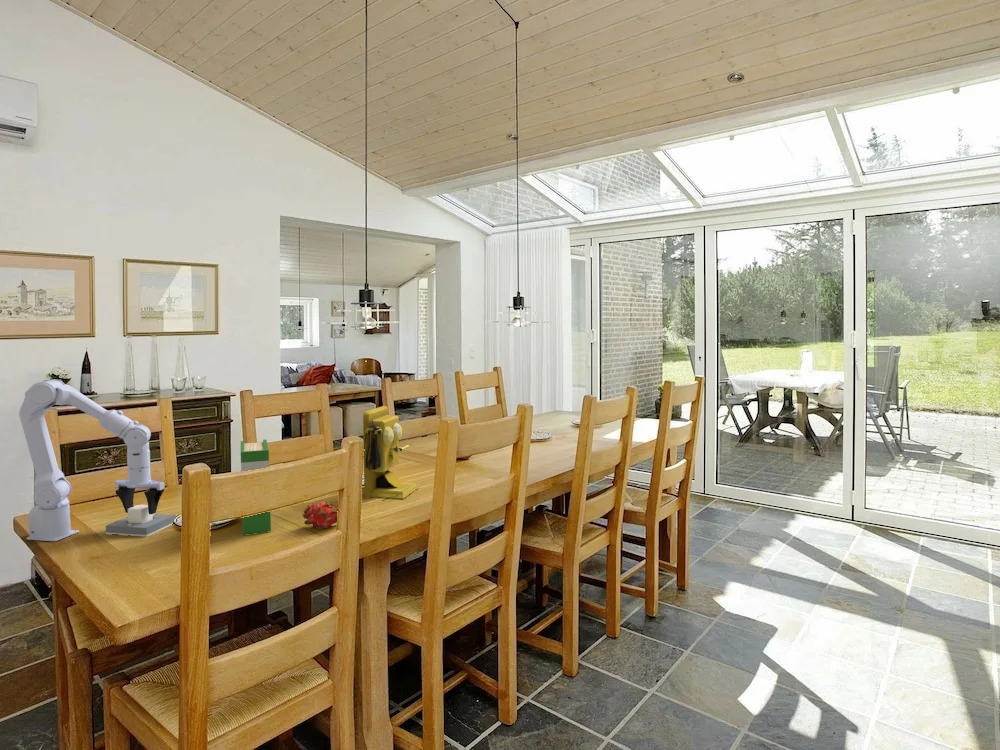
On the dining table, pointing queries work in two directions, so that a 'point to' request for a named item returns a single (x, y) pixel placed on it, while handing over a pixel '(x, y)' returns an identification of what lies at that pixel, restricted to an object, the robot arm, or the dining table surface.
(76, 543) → the dining table surface
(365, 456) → the vintage telephone
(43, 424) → the robot arm
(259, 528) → the hardback book
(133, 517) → the block
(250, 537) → the dining table surface
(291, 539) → the dining table surface
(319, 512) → the dragon fruit
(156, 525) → the outlet box
